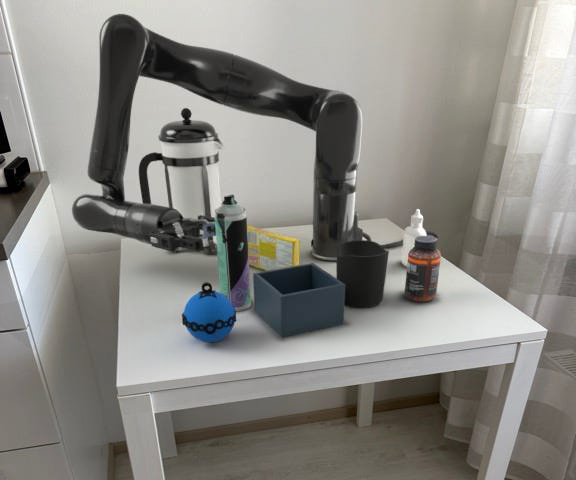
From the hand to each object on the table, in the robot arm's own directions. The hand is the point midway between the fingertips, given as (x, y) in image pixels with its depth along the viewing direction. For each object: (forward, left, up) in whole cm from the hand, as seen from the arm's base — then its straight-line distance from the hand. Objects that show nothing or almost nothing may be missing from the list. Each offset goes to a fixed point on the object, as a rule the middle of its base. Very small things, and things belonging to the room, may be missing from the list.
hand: (218, 239), depth 100 cm
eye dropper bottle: (-44, 0, -12) cm, 45 cm away
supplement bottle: (-35, +15, -12) cm, 40 cm away
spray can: (-2, +3, -12) cm, 13 cm away
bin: (-10, +13, -12) cm, 20 cm away
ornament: (+7, +14, -12) cm, 20 cm away
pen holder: (-24, +11, -12) cm, 29 cm away
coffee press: (-5, -34, -12) cm, 37 cm away
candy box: (-15, -11, -12) cm, 22 cm away
